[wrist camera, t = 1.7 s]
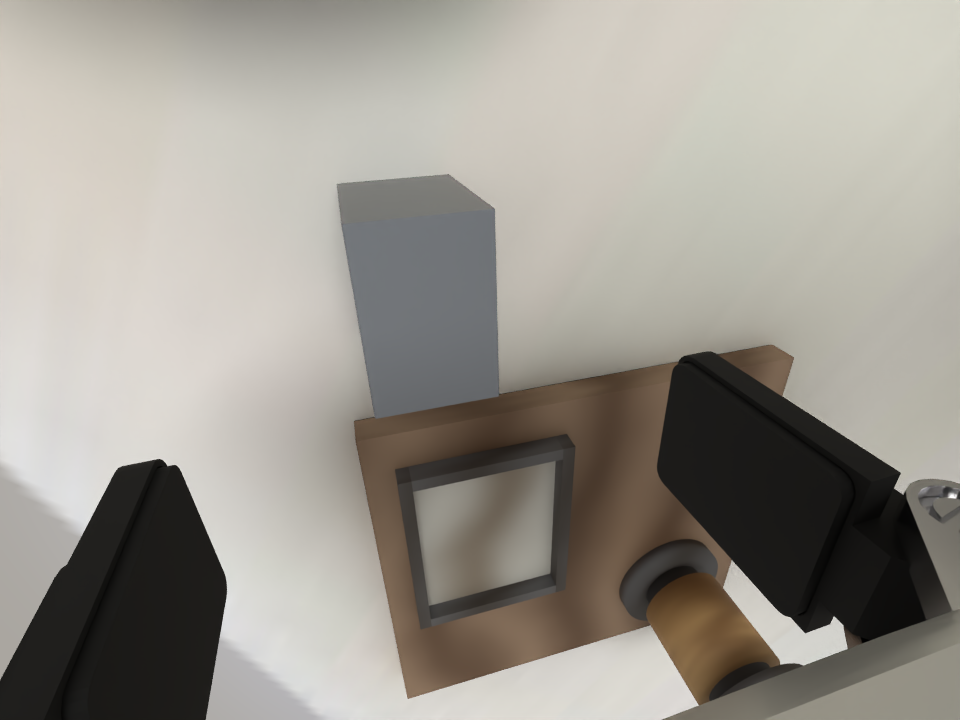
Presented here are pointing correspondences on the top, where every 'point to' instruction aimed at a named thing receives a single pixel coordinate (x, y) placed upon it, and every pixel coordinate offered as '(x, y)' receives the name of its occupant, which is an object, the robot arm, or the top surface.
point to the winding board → (552, 533)
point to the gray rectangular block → (423, 290)
